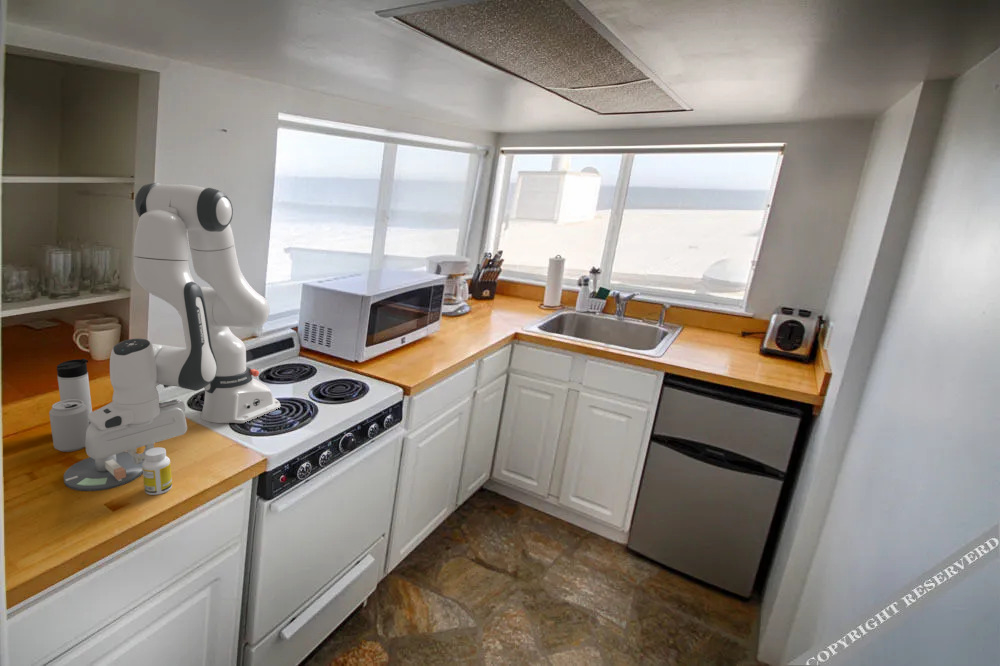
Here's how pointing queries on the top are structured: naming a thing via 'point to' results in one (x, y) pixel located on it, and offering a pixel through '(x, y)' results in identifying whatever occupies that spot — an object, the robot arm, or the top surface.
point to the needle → (111, 466)
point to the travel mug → (74, 382)
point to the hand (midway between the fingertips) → (141, 461)
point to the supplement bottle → (156, 471)
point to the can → (69, 424)
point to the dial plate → (100, 474)
